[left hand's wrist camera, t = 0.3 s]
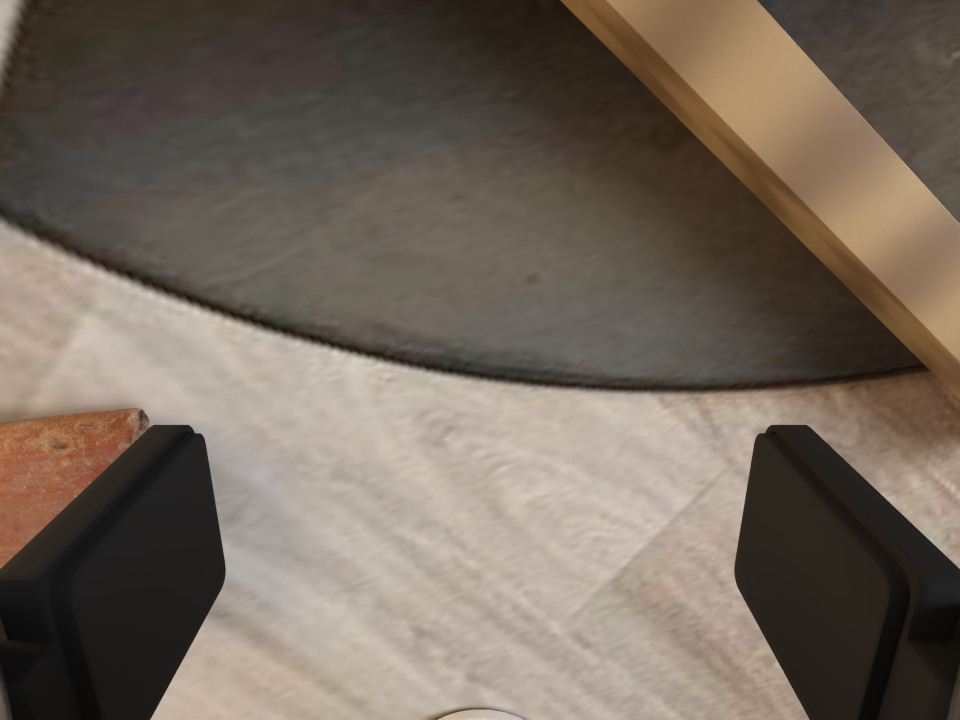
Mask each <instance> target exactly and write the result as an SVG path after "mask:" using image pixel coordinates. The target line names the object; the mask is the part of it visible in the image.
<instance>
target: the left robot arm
mask: <svg viewBox="0 0 960 720" xmlns="http://www.w3.org/2000/svg"><path fill="white" fill-rule="evenodd" d="M225 570H226V568H225V560H224V554H223V548H222V541H221V535H220V529H219V523H218V517H217V511H216V504H215V498H214V492H213V486H212V480H211V474H210V468H209V461H208V455H207V449H206V443H205V439H204V437H203V435H202V434H200V433H195V432H194V430H193V429H192V427H191V426H189V425H153V426H151V427H150V428H149V429H148V430H147V431H146V432H144V433H143V434H142V435H141V436H140V437H139V438H138V439H137V440H136V441H135V442H134V443H133V444H132V445H131V446H130V447H129V448H128V449H127V450H125V451H124V452H123V453H122V454H121V455H120V456H119V457H118V458H117V459H116V460H115V461H114V462H113V463H112V464H111V465H110V466H109V467H108V468H106V469H105V470H104V471H103V472H102V473H101V474H100V475H99V476H98V477H97V478H96V479H95V480H94V481H93V482H92V483H91V484H90V485H89V486H87V487H86V488H85V489H84V490H83V491H82V492H81V493H80V494H79V495H78V496H77V497H76V498H75V499H74V500H73V501H72V502H71V503H70V504H68V505H67V506H66V507H65V508H64V509H63V510H62V511H61V512H60V513H59V514H58V515H57V516H56V517H55V518H54V519H53V520H52V521H51V522H49V523H48V524H47V525H46V526H45V527H44V528H43V529H42V530H41V531H40V532H39V533H38V534H37V535H36V536H35V537H34V538H33V539H32V540H30V541H29V542H28V543H27V544H26V545H25V546H24V547H23V548H22V549H21V550H20V551H19V552H18V553H17V554H16V555H15V556H14V557H13V558H11V559H10V560H9V561H8V562H7V563H6V564H5V565H4V566H3V567H2V568H1V569H0V720H150V719H151V717H152V715H153V714H154V712H155V710H156V708H157V706H158V704H159V703H160V701H161V699H162V697H163V695H164V693H165V692H166V690H167V688H168V686H169V684H170V682H171V681H172V679H173V677H174V675H175V673H176V671H177V670H178V668H179V666H180V664H181V662H182V660H183V659H184V657H185V655H186V653H187V651H188V649H189V648H190V646H191V644H192V642H193V640H194V638H195V637H196V635H197V633H198V631H199V629H200V627H201V626H202V624H203V622H204V620H205V618H206V616H207V615H208V613H209V611H210V609H211V607H212V605H213V604H214V602H215V600H216V598H217V596H218V594H219V592H220V591H221V589H222V586H223V583H224V580H225ZM734 570H735V580H736V583H737V586H738V589H739V591H740V593H741V594H742V596H743V598H744V600H745V602H746V604H747V605H748V607H749V609H750V611H751V613H752V615H753V616H754V618H755V620H756V622H757V624H758V626H759V627H760V629H761V631H762V633H763V635H764V637H765V638H766V640H767V642H768V644H769V646H770V648H771V649H772V651H773V653H774V655H775V657H776V659H777V660H778V662H779V664H780V666H781V668H782V670H783V671H784V673H785V675H786V677H787V679H788V681H789V682H790V684H791V686H792V688H793V690H794V692H795V693H796V695H797V697H798V699H799V701H800V703H801V704H802V706H803V708H804V710H805V712H806V714H807V715H808V717H809V719H810V720H960V569H959V568H958V567H957V566H956V565H955V564H954V563H953V562H952V561H951V560H950V559H949V558H947V557H946V556H945V555H944V554H943V553H942V552H941V551H940V550H939V549H938V548H937V547H936V546H935V545H934V544H933V543H932V542H931V541H930V540H928V539H927V538H926V537H925V536H924V535H923V534H922V533H921V532H920V531H919V530H918V529H917V528H916V527H915V526H914V525H913V524H912V523H911V522H909V521H908V520H907V519H906V518H905V517H904V516H903V515H902V514H901V513H900V512H899V511H898V510H897V509H896V508H895V507H894V506H893V505H892V504H890V503H889V502H888V501H887V500H886V499H885V498H884V497H883V496H882V495H881V494H880V493H879V492H878V491H877V490H876V489H875V488H874V487H873V486H871V485H870V484H869V483H868V482H867V481H866V480H865V479H864V478H863V477H862V476H861V475H860V474H859V473H858V472H857V471H856V470H855V469H854V468H852V467H851V466H850V465H849V464H848V463H847V462H846V461H845V460H844V459H843V458H842V457H841V456H840V455H839V454H838V453H837V452H836V451H835V450H833V449H832V448H831V447H830V446H829V445H828V444H827V443H826V442H825V441H824V440H823V439H822V438H821V437H820V436H819V435H818V434H817V433H816V432H814V431H813V430H812V429H811V428H810V427H809V426H807V425H771V426H769V427H768V429H767V430H766V432H765V433H760V434H758V435H757V437H756V439H755V443H754V449H753V455H752V461H751V468H750V474H749V480H748V486H747V492H746V498H745V504H744V511H743V517H742V523H741V529H740V535H739V541H738V548H737V554H736V560H735V568H734ZM438 720H524V719H522V718H520V717H518V716H515V715H512V714H509V713H506V712H501V711H495V710H481V709H475V710H467V711H460V712H457V713H453V714H449V715H446V716H444V717H442V718H440V719H438Z"/></svg>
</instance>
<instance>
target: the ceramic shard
mask: <svg viewBox="0 0 960 720" xmlns="http://www.w3.org/2000/svg"><path fill="white" fill-rule="evenodd" d="M148 429H149V419H148V417H147V415H146V414H145V413H144V411H143V410H142V409H126V410H117V411H107V412H95V413H85V414H74V415H63V416H55V417H47V418H40V419H27V420H20V421H14V422H10V423H6V424H0V569H1V568H2V567H3V566H4V565H5V564H6V563H7V562H8V561H9V560H10V559H11V558H13V557H14V556H15V555H16V554H17V553H18V552H19V551H20V550H21V549H22V548H23V547H24V546H25V545H26V544H27V543H28V542H29V541H30V540H32V539H33V538H34V537H35V536H36V535H37V534H38V533H39V532H40V531H41V530H42V529H43V528H44V527H45V526H46V525H47V524H48V523H49V522H51V521H52V520H53V519H54V518H55V517H56V516H57V515H58V514H59V513H60V512H61V511H62V510H63V509H64V508H65V507H66V506H67V505H68V504H70V503H71V502H72V501H73V500H74V499H75V498H76V497H77V496H78V495H79V494H80V493H81V492H82V491H83V490H84V489H85V488H86V487H87V486H89V485H90V484H91V483H92V482H93V481H94V480H95V479H96V478H97V477H98V476H99V475H100V474H101V473H102V472H103V471H104V470H105V469H106V468H108V467H109V466H110V465H111V464H112V463H113V462H114V461H115V460H116V459H117V458H118V457H119V456H120V455H121V454H122V453H123V452H124V451H125V450H127V449H128V448H129V447H130V446H131V445H132V444H133V443H134V442H135V441H136V440H137V439H138V438H139V437H140V436H141V435H142V434H143V433H144V432H146V431H147V430H148Z"/></svg>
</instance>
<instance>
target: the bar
mask: <svg viewBox="0 0 960 720" xmlns="http://www.w3.org/2000/svg"><path fill="white" fill-rule="evenodd" d="M560 1H561V2H562V3H563V4H564V5H565V6H566V7H567V8H568V9H569V10H570V11H571V12H572V13H573V14H574V15H575V16H576V17H577V18H578V19H579V20H580V21H581V22H582V23H583V24H584V25H585V26H586V27H587V28H588V29H589V30H590V31H591V32H592V33H593V34H594V35H595V36H596V37H597V38H598V39H599V40H600V41H601V42H602V43H603V44H604V45H605V46H606V47H607V48H608V49H609V50H610V51H611V52H612V53H613V54H614V55H615V56H616V57H617V58H618V59H619V60H620V61H621V62H622V63H623V64H624V65H625V66H626V67H627V68H628V69H629V70H630V71H631V72H632V73H633V74H634V75H635V76H636V77H637V78H638V79H639V80H640V81H641V82H642V83H643V84H644V85H645V86H646V87H647V88H648V89H649V90H650V91H651V92H652V93H653V94H654V95H655V96H656V97H657V98H658V99H659V100H660V101H661V102H662V103H663V104H664V105H665V106H666V107H667V108H668V109H669V110H670V111H671V112H672V113H673V114H674V115H675V116H676V117H677V118H678V119H679V120H680V121H681V122H682V123H683V124H684V125H685V126H686V127H687V128H688V129H689V130H690V131H691V132H692V133H693V134H694V135H695V136H696V137H697V138H698V139H699V140H700V141H701V142H702V143H703V144H704V145H705V146H706V147H707V148H708V149H709V150H710V151H711V152H712V153H713V154H714V155H715V156H716V157H717V158H718V159H719V160H720V161H721V162H722V163H723V164H724V165H725V166H726V167H727V168H728V169H729V170H730V171H731V172H732V173H733V174H734V175H735V176H736V177H737V178H738V179H739V180H740V181H741V182H742V183H743V184H744V185H745V186H746V187H747V188H748V189H749V190H750V191H751V192H752V193H753V194H754V195H755V196H756V197H757V198H758V199H759V200H760V201H761V202H762V203H763V204H764V205H765V206H766V207H767V208H768V209H769V210H770V211H771V212H772V213H773V214H774V215H775V216H776V217H777V218H778V219H779V220H780V221H781V222H782V223H783V224H784V225H785V226H786V227H787V228H788V229H789V230H790V231H791V232H792V233H793V234H794V235H795V236H796V237H797V238H798V239H799V240H800V241H801V242H802V243H803V244H804V245H805V246H806V247H807V248H808V249H809V250H810V251H811V252H812V253H813V254H814V255H815V256H816V257H817V258H818V259H819V260H820V261H821V262H822V263H823V264H824V265H825V266H826V267H827V268H828V269H829V270H830V271H831V272H832V273H833V274H834V275H835V276H836V277H837V278H838V279H839V280H840V281H841V282H842V283H843V284H844V285H845V286H846V287H847V288H848V289H849V290H850V291H851V292H852V293H853V294H854V295H855V296H856V297H857V298H858V299H859V300H860V301H861V302H862V303H863V304H864V305H865V306H866V307H867V308H868V309H869V310H870V311H871V312H872V313H873V314H874V315H875V316H876V317H877V318H878V319H879V320H880V321H881V322H882V323H883V324H884V325H885V326H886V327H887V328H888V329H889V330H890V331H891V332H892V333H893V334H894V335H895V336H896V337H897V338H898V339H899V340H900V341H901V342H902V343H903V344H904V345H905V346H906V347H907V348H908V349H909V350H910V351H911V352H912V353H913V354H914V355H915V356H916V357H917V358H918V359H919V360H920V361H921V362H922V363H923V364H924V365H925V366H926V367H927V368H928V369H929V370H930V371H931V372H932V373H933V374H934V375H935V376H936V377H937V378H938V379H939V380H940V381H941V382H942V383H943V384H944V385H945V386H946V387H947V388H948V389H949V390H950V391H951V392H952V393H953V394H954V395H955V396H956V397H957V398H958V399H959V400H960V224H959V223H958V222H957V220H956V219H955V218H954V217H953V216H952V215H951V214H950V213H949V212H948V210H947V209H946V208H945V207H944V206H943V205H942V204H941V203H940V202H939V201H938V199H937V198H936V197H935V196H934V195H933V194H932V193H931V192H930V191H929V190H928V188H927V187H926V186H925V185H924V184H923V183H922V182H921V181H920V180H919V179H918V177H917V176H916V175H915V174H914V173H913V172H912V171H911V170H910V169H909V168H908V166H907V165H906V164H905V163H904V162H903V161H902V160H901V159H900V158H899V156H898V155H897V154H896V153H895V152H894V151H893V150H892V149H891V148H890V147H889V145H888V144H887V143H886V142H885V141H884V140H883V139H882V138H881V137H880V136H879V134H878V133H877V132H876V131H875V130H874V129H873V128H872V127H871V126H870V125H869V123H868V122H867V121H866V120H865V119H864V118H863V117H862V116H861V115H860V114H859V112H858V111H857V110H856V109H855V108H854V107H853V106H852V105H851V104H850V103H849V101H848V100H847V99H846V98H845V97H844V96H843V95H842V94H841V93H840V91H839V90H838V89H837V88H836V87H835V86H834V85H833V84H832V83H831V82H830V80H829V79H828V78H827V77H826V76H825V75H824V74H823V73H822V72H821V71H820V69H819V68H818V67H817V66H816V65H815V64H814V63H813V62H812V61H811V60H810V58H809V57H808V56H807V55H806V54H805V53H804V52H803V51H802V50H801V49H800V47H799V46H798V45H797V44H796V43H795V42H794V41H793V40H792V39H791V37H790V36H789V35H788V34H787V33H786V32H785V31H784V30H783V29H782V28H781V26H780V25H779V24H778V23H777V22H776V21H775V20H774V19H773V18H772V17H771V15H770V14H769V13H768V12H767V11H766V10H765V9H764V8H763V7H762V6H761V4H760V3H759V2H758V1H757V0H560Z"/></svg>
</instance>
